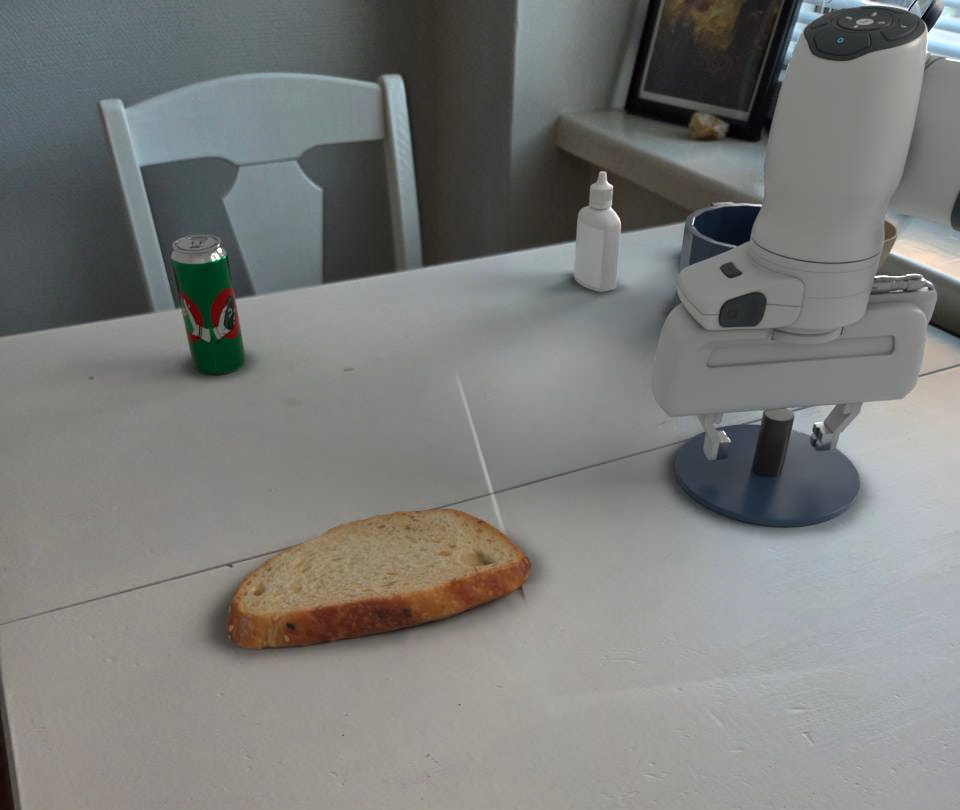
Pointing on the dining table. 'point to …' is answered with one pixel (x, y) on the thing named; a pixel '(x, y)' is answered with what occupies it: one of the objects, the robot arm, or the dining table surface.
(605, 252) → the eye dropper bottle
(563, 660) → the dining table surface
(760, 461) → the lid
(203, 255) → the soda can
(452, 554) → the bread slice
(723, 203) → the pot
